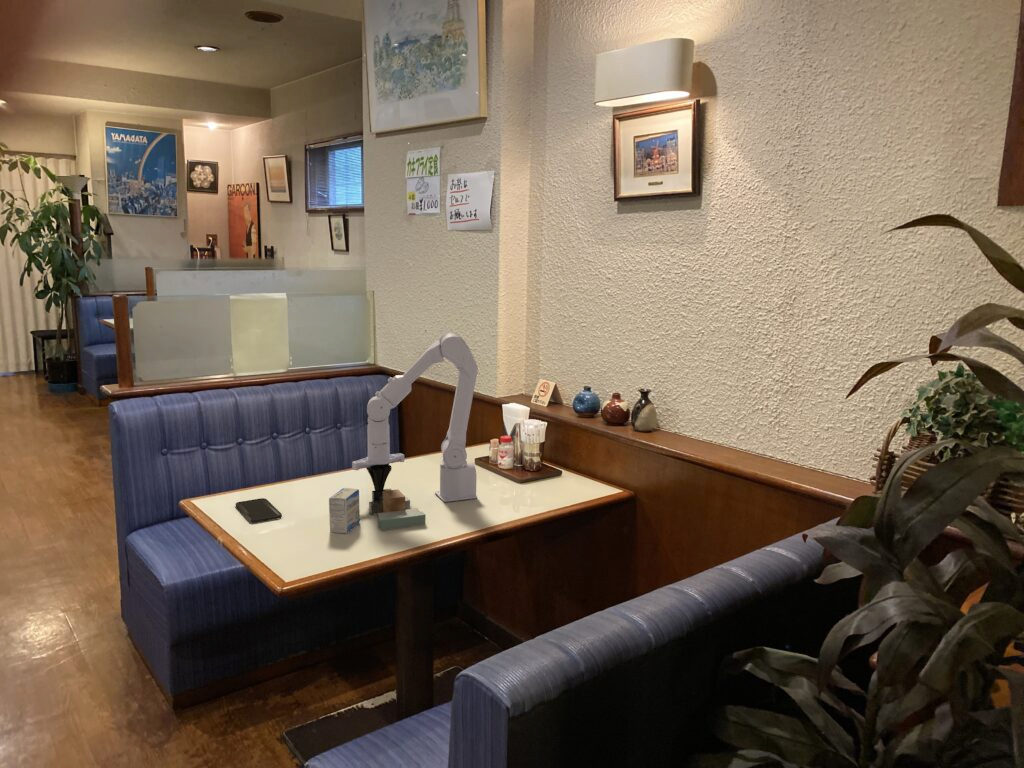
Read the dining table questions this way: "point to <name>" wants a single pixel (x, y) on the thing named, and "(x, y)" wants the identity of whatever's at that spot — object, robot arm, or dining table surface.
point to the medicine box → (344, 510)
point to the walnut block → (393, 501)
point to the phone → (258, 510)
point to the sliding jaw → (381, 502)
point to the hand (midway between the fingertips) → (378, 491)
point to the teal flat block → (400, 519)
